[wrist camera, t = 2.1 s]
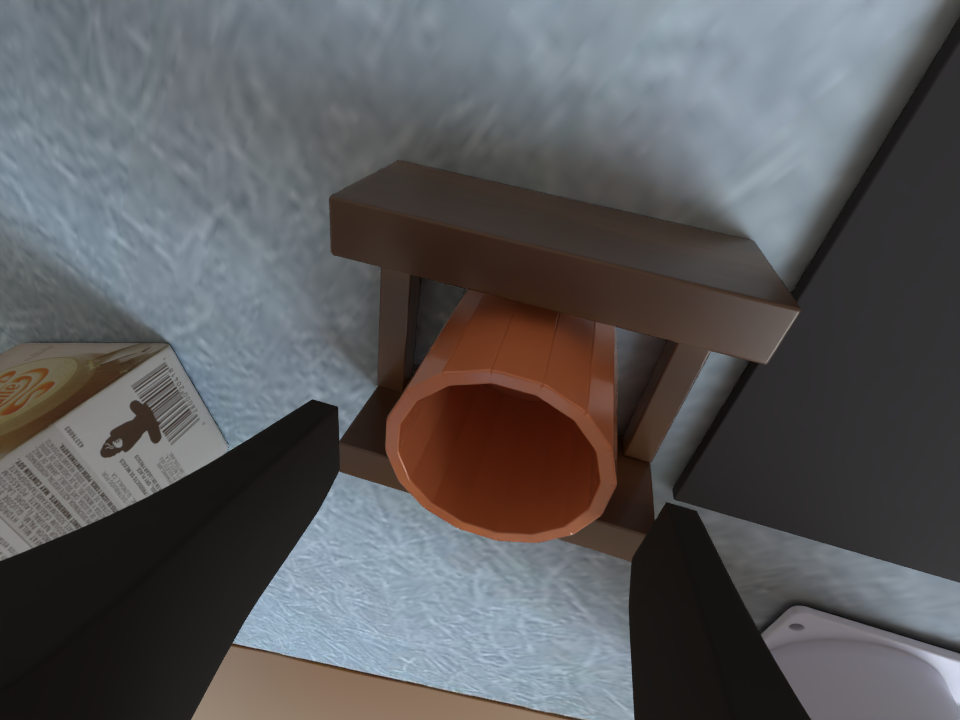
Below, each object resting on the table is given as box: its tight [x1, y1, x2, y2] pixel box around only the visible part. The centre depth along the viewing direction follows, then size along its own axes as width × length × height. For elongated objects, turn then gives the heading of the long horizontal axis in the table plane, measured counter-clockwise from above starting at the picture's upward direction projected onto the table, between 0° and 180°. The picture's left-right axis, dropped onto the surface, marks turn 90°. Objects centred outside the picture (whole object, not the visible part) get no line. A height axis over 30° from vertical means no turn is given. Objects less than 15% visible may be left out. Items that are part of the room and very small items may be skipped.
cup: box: [385, 289, 618, 543], centre depth 13 cm, size 5×5×6 cm
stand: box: [329, 160, 801, 562], centre depth 14 cm, size 9×10×4 cm
